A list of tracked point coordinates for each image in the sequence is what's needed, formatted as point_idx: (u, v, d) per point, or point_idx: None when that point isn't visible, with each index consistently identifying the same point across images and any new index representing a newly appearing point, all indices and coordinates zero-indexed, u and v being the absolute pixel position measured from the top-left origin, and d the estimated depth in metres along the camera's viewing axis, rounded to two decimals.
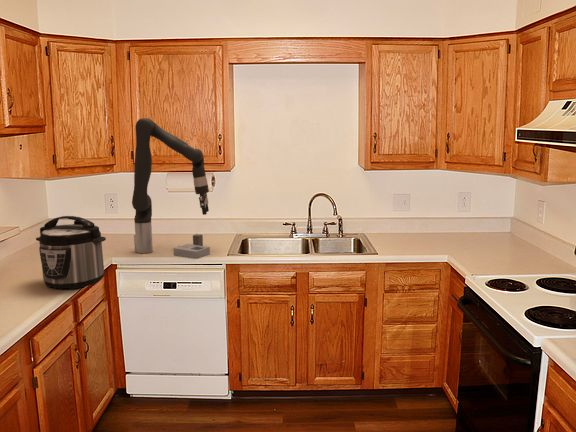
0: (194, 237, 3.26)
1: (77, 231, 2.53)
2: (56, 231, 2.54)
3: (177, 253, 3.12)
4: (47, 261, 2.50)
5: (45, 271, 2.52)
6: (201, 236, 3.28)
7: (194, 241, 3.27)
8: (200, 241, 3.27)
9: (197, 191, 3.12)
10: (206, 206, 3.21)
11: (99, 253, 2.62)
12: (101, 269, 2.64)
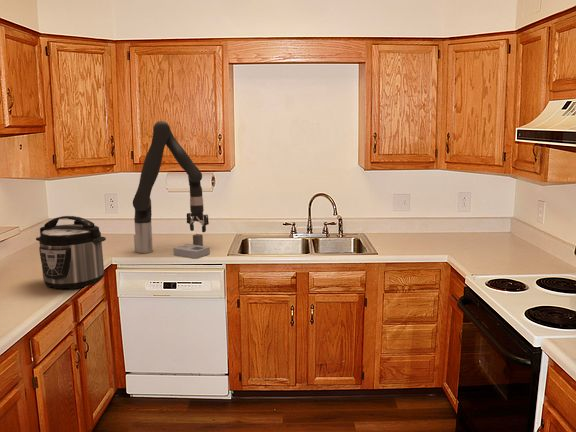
0: (194, 237, 3.26)
1: (77, 231, 2.53)
2: (56, 231, 2.54)
3: (177, 253, 3.12)
4: (47, 261, 2.50)
5: (45, 271, 2.52)
6: (201, 236, 3.28)
7: (194, 241, 3.27)
8: (200, 241, 3.27)
9: (198, 210, 3.21)
10: (192, 225, 3.29)
11: (99, 253, 2.62)
12: (101, 269, 2.64)
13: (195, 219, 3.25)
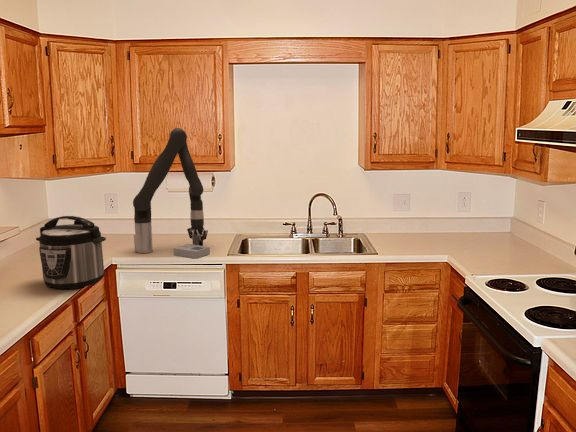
0: (194, 237, 3.26)
1: (77, 231, 2.53)
2: (56, 231, 2.54)
3: (177, 253, 3.12)
4: (47, 261, 2.50)
5: (45, 271, 2.52)
6: None
7: (194, 241, 3.27)
8: None
9: (199, 223, 3.23)
10: None
11: (99, 253, 2.62)
12: (101, 269, 2.64)
13: (195, 232, 3.27)
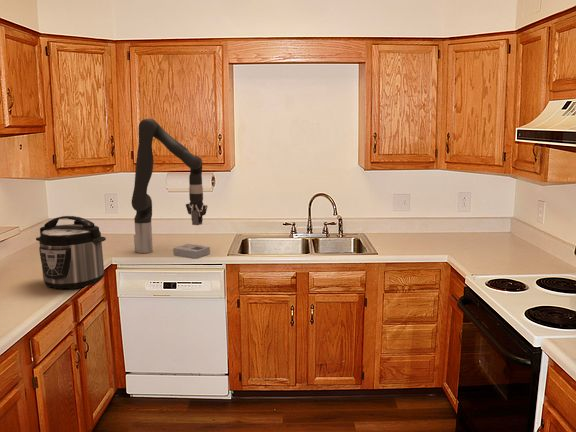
0: (193, 213, 3.15)
1: (77, 231, 2.53)
2: (56, 231, 2.54)
3: (177, 253, 3.12)
4: (47, 261, 2.50)
5: (45, 271, 2.52)
6: None
7: (193, 217, 3.15)
8: None
9: (198, 198, 3.11)
10: None
11: (99, 253, 2.62)
12: (101, 269, 2.64)
13: (194, 208, 3.15)
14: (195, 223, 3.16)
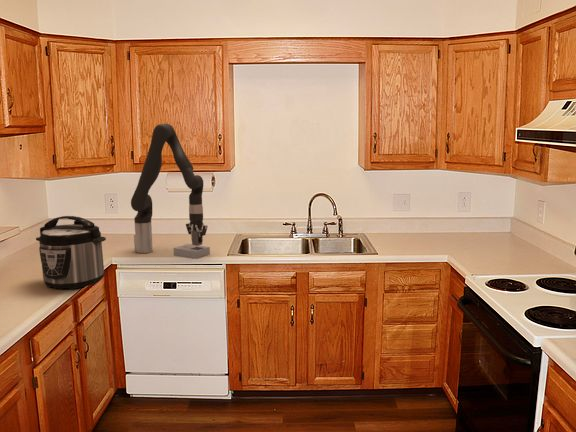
0: (193, 233, 3.09)
1: (77, 231, 2.53)
2: (56, 231, 2.54)
3: (177, 253, 3.12)
4: (47, 261, 2.50)
5: (45, 271, 2.52)
6: (200, 232, 3.10)
7: (193, 237, 3.10)
8: None
9: (198, 218, 3.06)
10: None
11: (99, 253, 2.62)
12: (101, 269, 2.64)
13: (194, 228, 3.09)
14: (195, 243, 3.10)
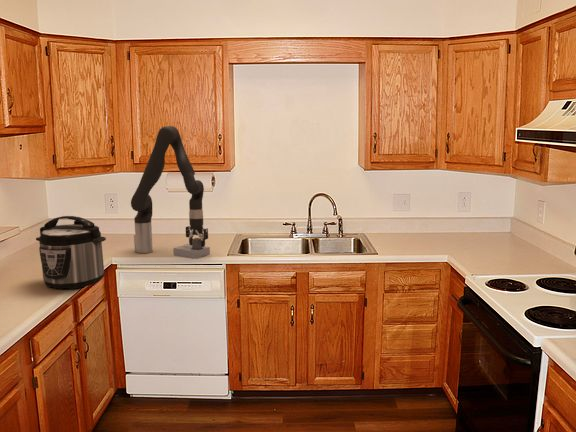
0: (193, 241, 3.10)
1: (77, 231, 2.53)
2: (56, 231, 2.54)
3: (177, 253, 3.12)
4: (47, 261, 2.50)
5: (45, 271, 2.52)
6: None
7: (193, 245, 3.11)
8: (200, 246, 3.11)
9: (198, 223, 3.06)
10: None
11: (99, 253, 2.62)
12: (101, 269, 2.64)
13: (194, 233, 3.10)
14: None
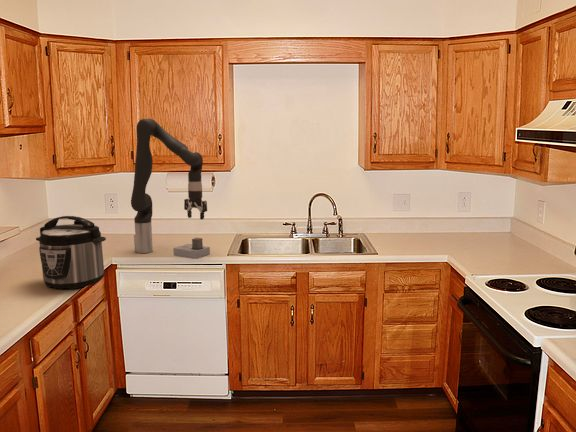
0: (193, 241, 3.10)
1: (77, 231, 2.53)
2: (56, 231, 2.54)
3: (177, 253, 3.12)
4: (47, 261, 2.50)
5: (45, 271, 2.52)
6: (201, 240, 3.11)
7: (193, 245, 3.11)
8: (200, 246, 3.11)
9: (197, 195, 3.05)
10: (190, 212, 3.12)
11: (99, 253, 2.62)
12: (101, 269, 2.64)
13: (193, 205, 3.09)
14: None
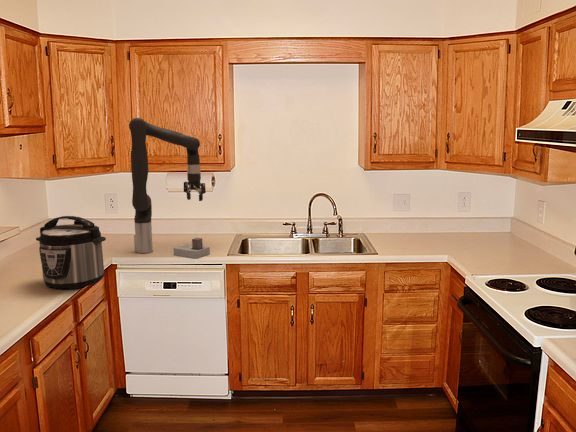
0: (193, 241, 3.10)
1: (77, 231, 2.53)
2: (56, 231, 2.54)
3: (177, 253, 3.12)
4: (47, 261, 2.50)
5: (45, 271, 2.52)
6: (201, 240, 3.11)
7: (193, 245, 3.11)
8: (200, 246, 3.11)
9: (196, 178, 3.20)
10: (189, 194, 3.27)
11: (99, 253, 2.62)
12: (101, 269, 2.64)
13: (192, 188, 3.24)
14: None
